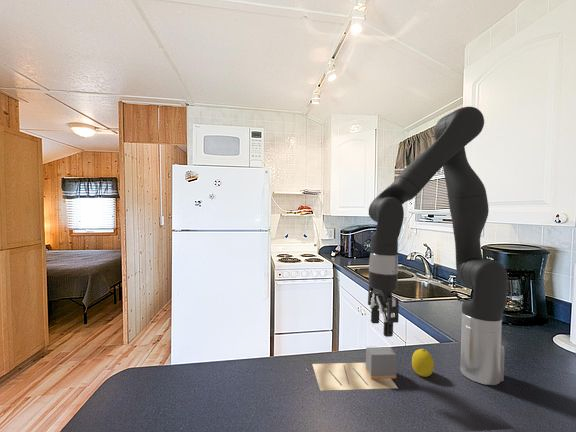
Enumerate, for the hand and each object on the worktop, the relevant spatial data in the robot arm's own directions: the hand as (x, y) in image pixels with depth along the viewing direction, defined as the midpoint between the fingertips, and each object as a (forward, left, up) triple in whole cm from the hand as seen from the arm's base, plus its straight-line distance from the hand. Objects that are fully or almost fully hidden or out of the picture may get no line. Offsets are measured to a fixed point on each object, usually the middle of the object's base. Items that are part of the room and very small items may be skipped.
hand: (381, 329), depth 75 cm
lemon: (-12, 0, -14) cm, 18 cm away
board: (+8, 0, -14) cm, 16 cm away
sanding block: (0, 0, -13) cm, 13 cm away
